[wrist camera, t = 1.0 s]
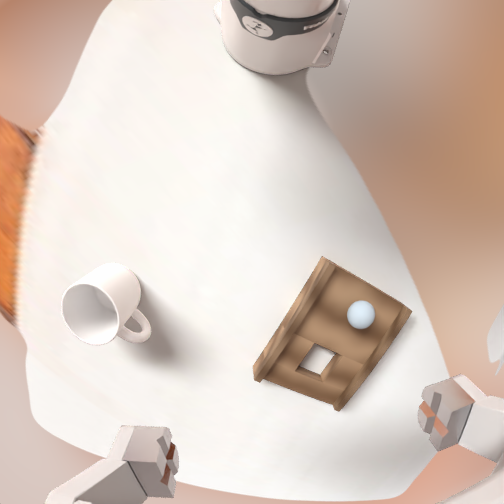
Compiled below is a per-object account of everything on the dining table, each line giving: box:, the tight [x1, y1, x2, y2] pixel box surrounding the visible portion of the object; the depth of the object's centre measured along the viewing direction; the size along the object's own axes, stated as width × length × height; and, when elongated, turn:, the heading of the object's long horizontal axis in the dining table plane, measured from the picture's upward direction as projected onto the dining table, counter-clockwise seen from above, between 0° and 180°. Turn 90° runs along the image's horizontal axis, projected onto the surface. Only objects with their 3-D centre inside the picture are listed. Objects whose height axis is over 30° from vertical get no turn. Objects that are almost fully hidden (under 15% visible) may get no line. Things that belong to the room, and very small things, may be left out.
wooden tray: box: [253, 256, 412, 411], centre depth 45 cm, size 20×16×4 cm
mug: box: [61, 263, 151, 345], centre depth 40 cm, size 12×8×10 cm
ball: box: [347, 300, 375, 329], centre depth 42 cm, size 4×4×4 cm
